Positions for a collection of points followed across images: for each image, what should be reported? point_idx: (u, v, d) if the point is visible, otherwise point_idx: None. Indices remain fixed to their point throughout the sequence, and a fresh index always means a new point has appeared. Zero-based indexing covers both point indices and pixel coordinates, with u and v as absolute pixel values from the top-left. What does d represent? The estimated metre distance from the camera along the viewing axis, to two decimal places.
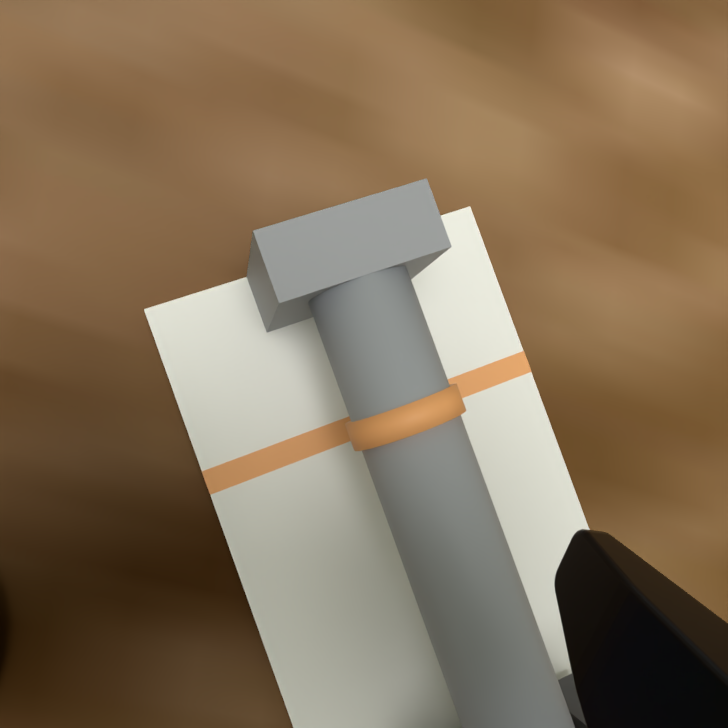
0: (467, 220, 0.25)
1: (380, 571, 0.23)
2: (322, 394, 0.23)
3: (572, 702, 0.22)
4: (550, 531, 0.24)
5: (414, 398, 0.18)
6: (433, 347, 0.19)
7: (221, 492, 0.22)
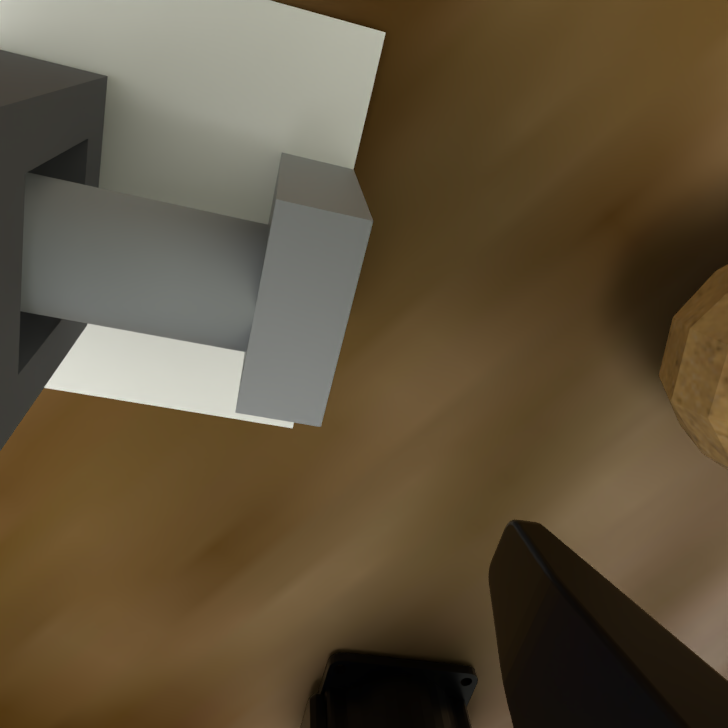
0: None
1: None
2: None
3: None
4: None
5: None
6: None
7: None
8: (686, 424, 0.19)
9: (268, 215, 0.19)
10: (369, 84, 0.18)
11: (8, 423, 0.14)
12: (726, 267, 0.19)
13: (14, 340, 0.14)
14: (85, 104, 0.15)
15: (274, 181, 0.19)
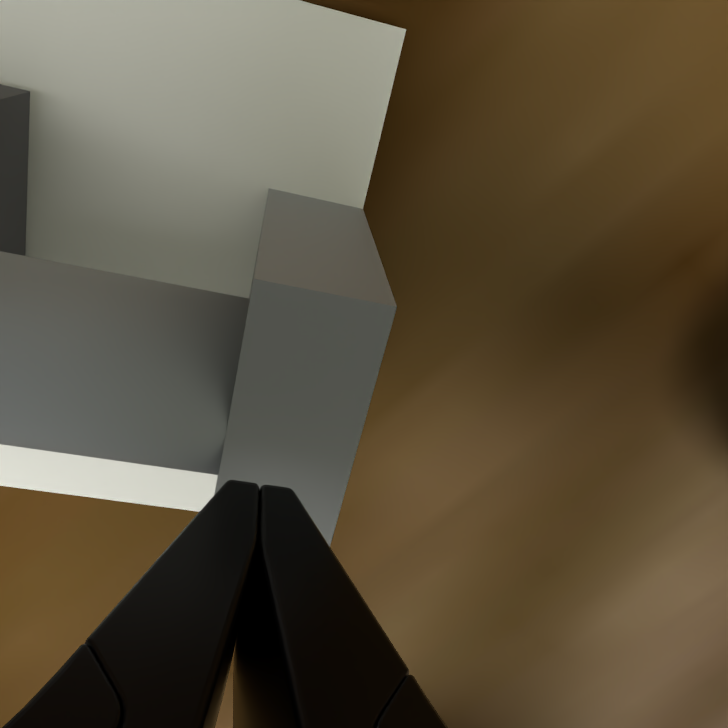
0: None
1: None
2: None
3: None
4: None
5: None
6: None
7: None
8: None
9: (252, 268, 0.15)
10: (384, 98, 0.14)
11: None
12: None
13: None
14: None
15: (259, 225, 0.14)
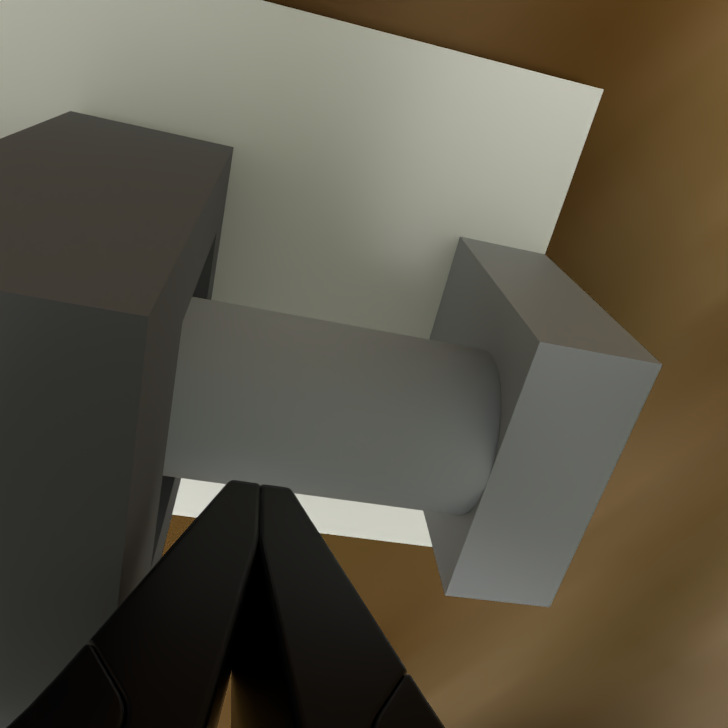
0: None
1: None
2: None
3: None
4: None
5: None
6: None
7: None
8: None
9: (436, 310, 0.16)
10: (575, 152, 0.14)
11: None
12: None
13: (152, 535, 0.10)
14: (220, 193, 0.12)
15: (447, 270, 0.15)
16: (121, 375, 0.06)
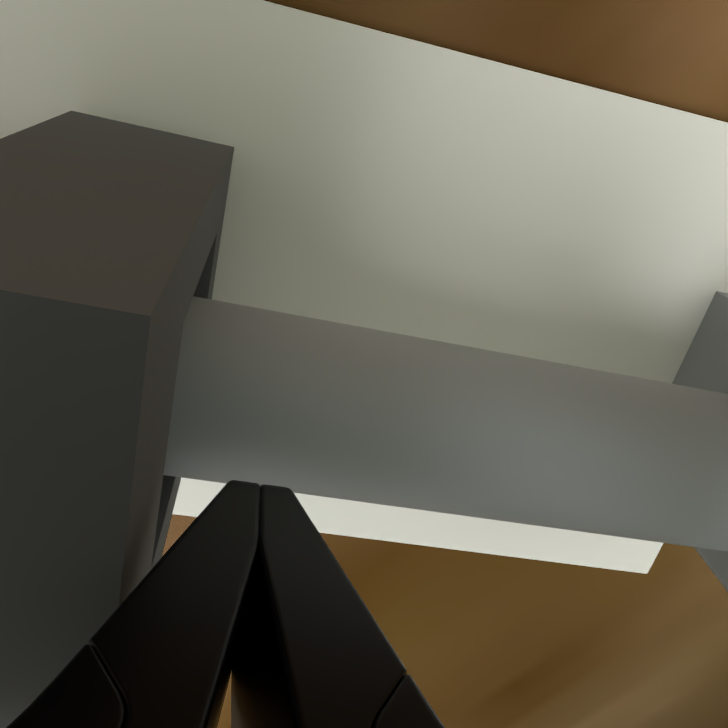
0: None
1: None
2: None
3: None
4: (206, 69, 0.13)
5: None
6: None
7: None
8: None
9: (682, 357, 0.17)
10: None
11: None
12: None
13: (153, 535, 0.10)
14: (221, 193, 0.12)
15: (698, 321, 0.16)
16: (123, 375, 0.06)
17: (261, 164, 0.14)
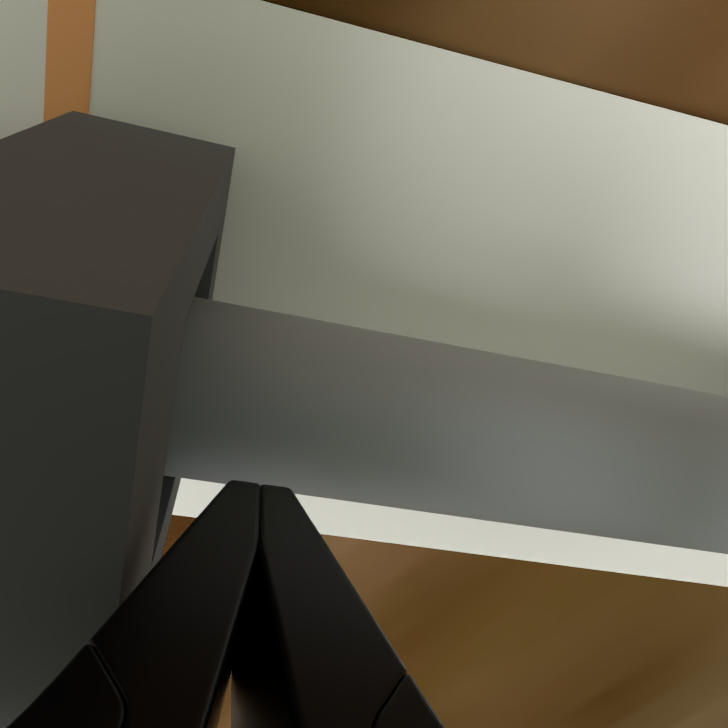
0: None
1: None
2: None
3: None
4: (382, 113, 0.14)
5: None
6: None
7: None
8: None
9: None
10: None
11: None
12: None
13: (153, 535, 0.10)
14: (222, 193, 0.12)
15: None
16: (124, 375, 0.06)
17: (423, 201, 0.14)
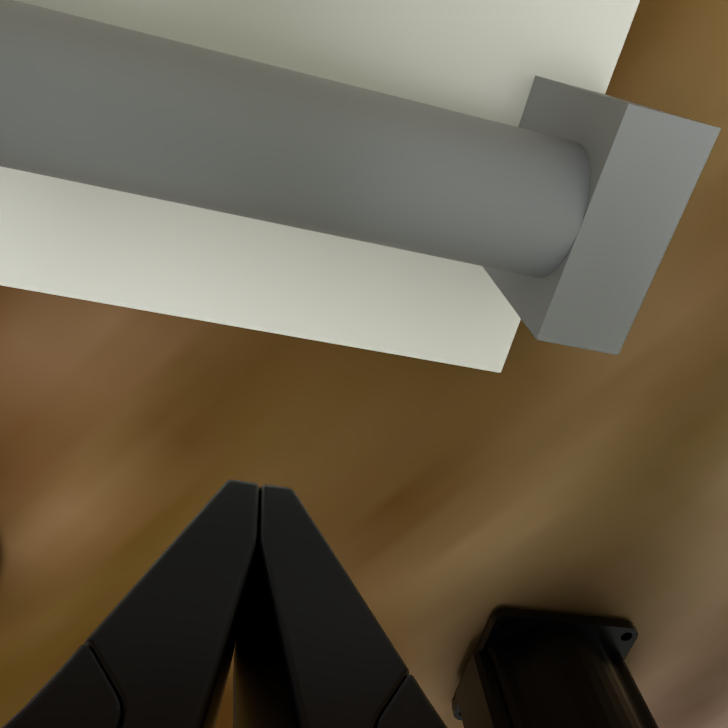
0: None
1: None
2: None
3: None
4: None
5: None
6: None
7: None
8: None
9: None
10: (635, 1, 0.17)
11: None
12: None
13: None
14: None
15: (522, 107, 0.18)
16: None
17: None
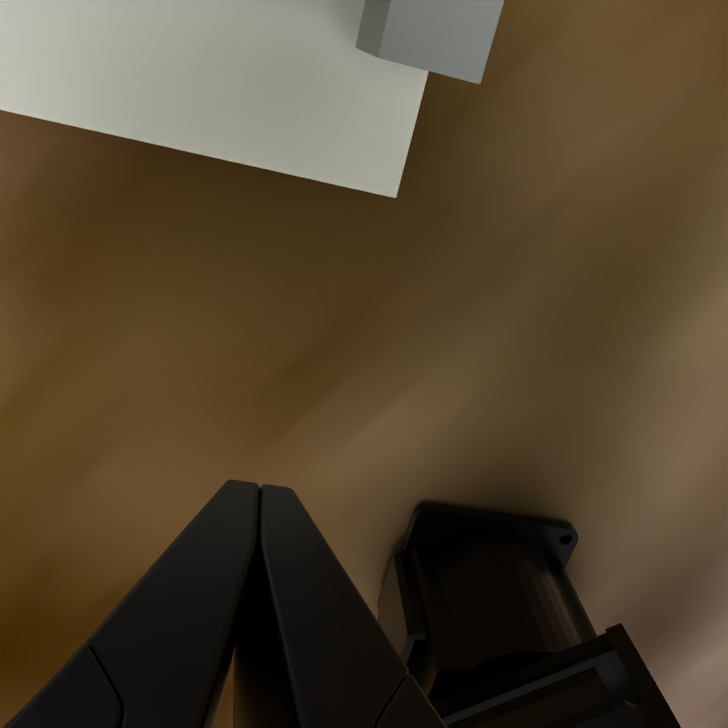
0: None
1: None
2: None
3: None
4: None
5: None
6: None
7: None
8: None
9: None
10: None
11: None
12: None
13: None
14: None
15: None
16: None
17: None
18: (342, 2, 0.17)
